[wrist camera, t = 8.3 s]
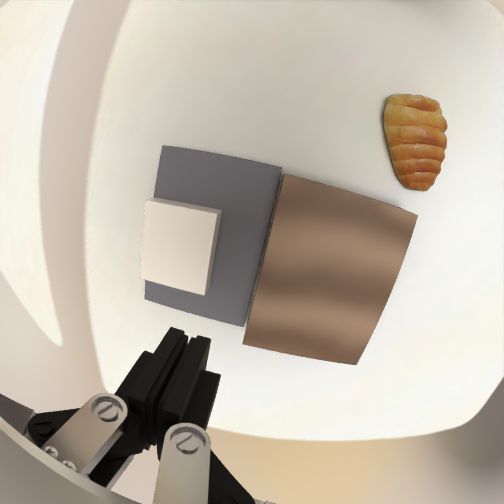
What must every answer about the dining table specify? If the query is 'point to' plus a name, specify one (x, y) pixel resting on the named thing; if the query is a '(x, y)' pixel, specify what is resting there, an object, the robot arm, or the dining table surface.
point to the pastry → (415, 139)
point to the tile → (179, 244)
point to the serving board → (326, 271)
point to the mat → (230, 230)
